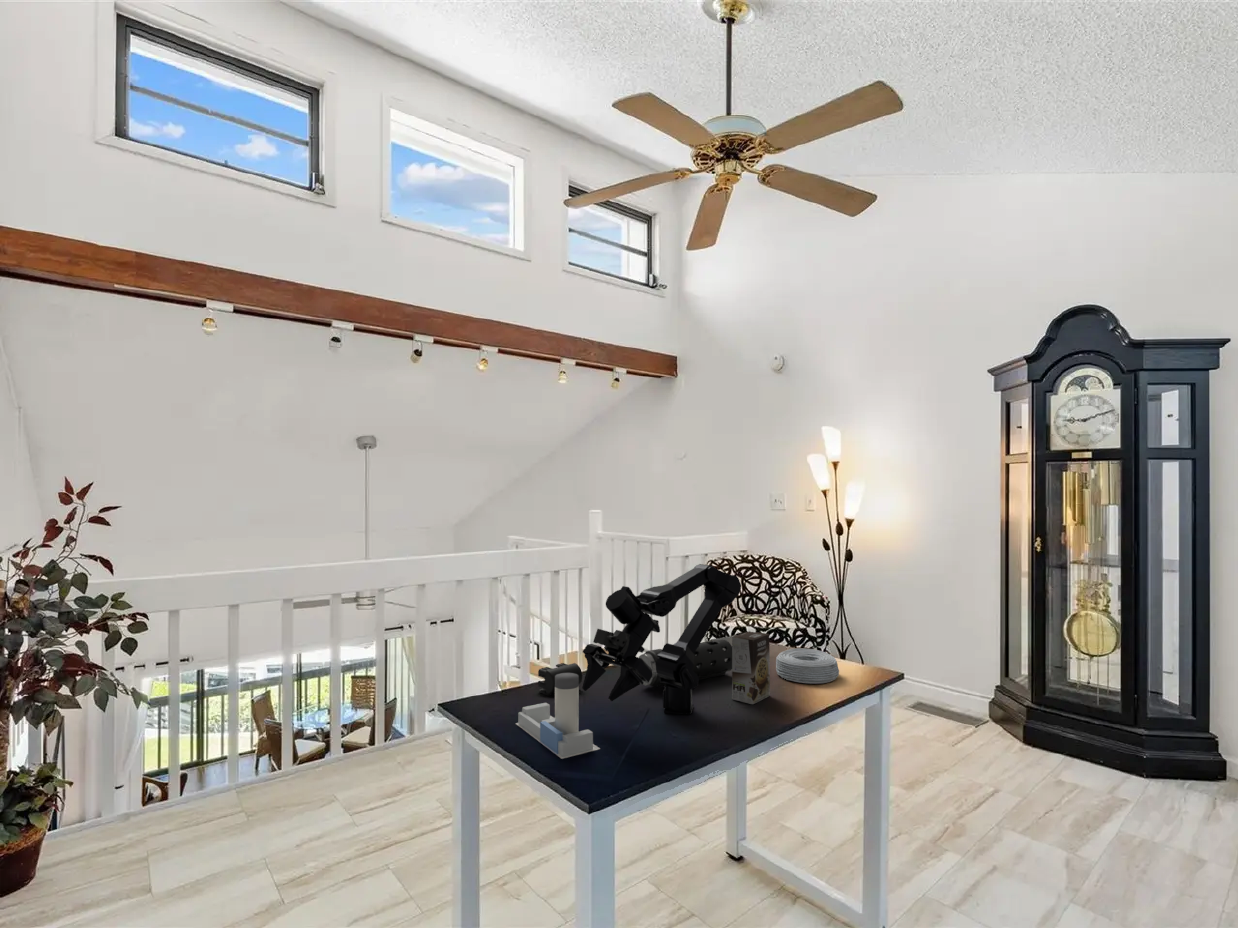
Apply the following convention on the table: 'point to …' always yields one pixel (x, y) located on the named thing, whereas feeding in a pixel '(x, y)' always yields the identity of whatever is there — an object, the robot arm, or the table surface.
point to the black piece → (550, 676)
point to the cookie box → (750, 667)
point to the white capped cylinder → (567, 703)
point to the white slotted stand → (554, 732)
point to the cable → (807, 666)
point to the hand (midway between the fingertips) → (596, 694)
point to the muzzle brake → (697, 661)
